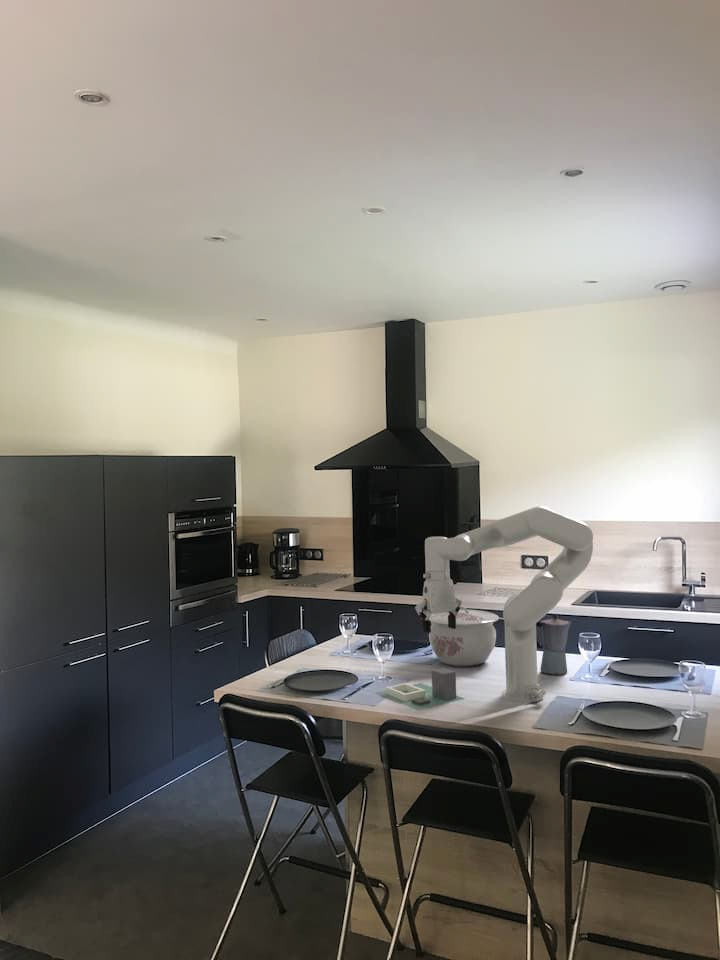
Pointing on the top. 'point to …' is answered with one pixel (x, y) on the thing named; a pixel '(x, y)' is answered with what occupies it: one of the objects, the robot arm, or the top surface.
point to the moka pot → (554, 645)
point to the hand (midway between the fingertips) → (439, 630)
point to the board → (414, 695)
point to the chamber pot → (463, 637)
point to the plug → (444, 684)
